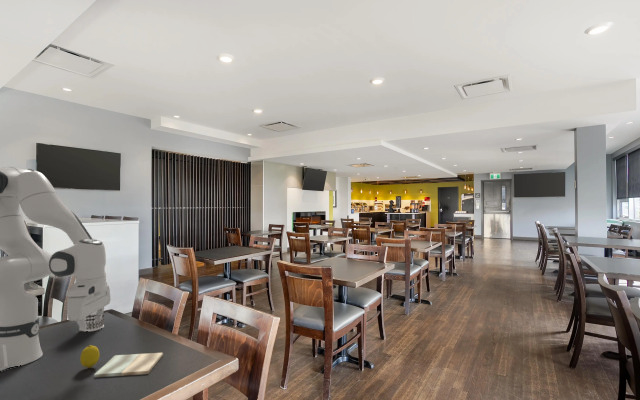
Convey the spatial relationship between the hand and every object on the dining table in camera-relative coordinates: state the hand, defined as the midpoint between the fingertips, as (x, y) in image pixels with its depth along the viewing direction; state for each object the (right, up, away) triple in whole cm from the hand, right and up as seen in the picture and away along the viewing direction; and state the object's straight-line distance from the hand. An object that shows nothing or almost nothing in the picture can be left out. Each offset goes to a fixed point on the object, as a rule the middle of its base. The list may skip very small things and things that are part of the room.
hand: (91, 325), depth 115 cm
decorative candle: (-25, -16, +38) cm, 48 cm away
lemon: (0, -15, 0) cm, 15 cm away
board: (+13, -15, +2) cm, 20 cm away
